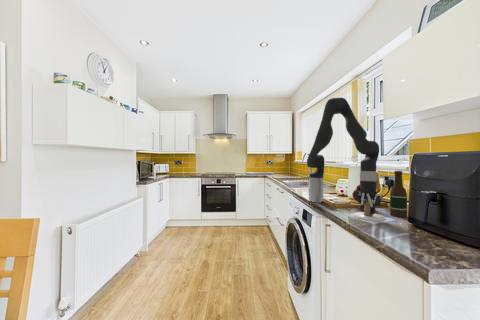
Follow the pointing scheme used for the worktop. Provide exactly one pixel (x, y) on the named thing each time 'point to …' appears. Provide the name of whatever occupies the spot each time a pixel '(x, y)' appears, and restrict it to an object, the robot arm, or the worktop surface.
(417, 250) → the worktop surface
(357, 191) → the ice cream bowl
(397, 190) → the beer bottle
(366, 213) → the lid
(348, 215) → the mat
